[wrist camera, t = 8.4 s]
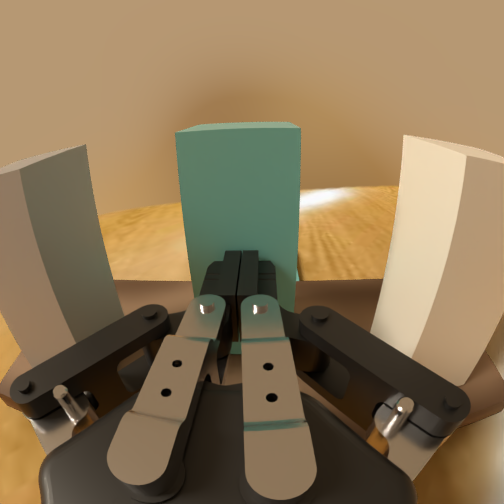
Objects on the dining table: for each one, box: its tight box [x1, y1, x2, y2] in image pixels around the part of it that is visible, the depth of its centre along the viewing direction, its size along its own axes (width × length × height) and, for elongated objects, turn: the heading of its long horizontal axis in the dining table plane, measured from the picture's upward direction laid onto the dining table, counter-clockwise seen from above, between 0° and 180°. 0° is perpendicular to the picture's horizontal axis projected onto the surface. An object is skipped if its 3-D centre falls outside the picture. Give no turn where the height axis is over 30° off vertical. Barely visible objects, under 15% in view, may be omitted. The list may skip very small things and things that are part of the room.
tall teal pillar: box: [175, 122, 301, 354], centre depth 16 cm, size 5×5×12 cm
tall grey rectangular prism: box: [0, 145, 124, 368], centre depth 13 cm, size 5×5×12 cm
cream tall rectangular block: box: [370, 135, 504, 386], centre depth 12 cm, size 5×5×12 cm
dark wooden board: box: [0, 279, 504, 441], centre depth 18 cm, size 14×32×2 cm, turn 89°
